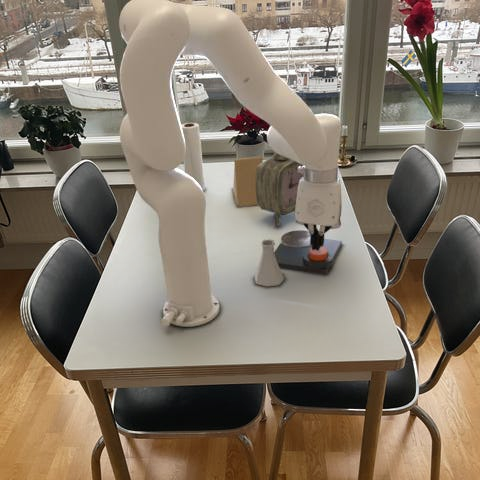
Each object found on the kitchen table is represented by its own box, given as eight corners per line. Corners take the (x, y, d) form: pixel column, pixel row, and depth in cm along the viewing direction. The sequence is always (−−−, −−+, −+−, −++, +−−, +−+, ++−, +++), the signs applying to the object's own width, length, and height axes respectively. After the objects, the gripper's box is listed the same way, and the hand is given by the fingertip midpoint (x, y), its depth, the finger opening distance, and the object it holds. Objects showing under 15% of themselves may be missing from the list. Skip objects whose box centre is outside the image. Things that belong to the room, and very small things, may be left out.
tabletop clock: (278, 231, 150) (277, 141, 136) (254, 223, 155) (250, 136, 141) (309, 213, 159) (311, 127, 144) (285, 206, 164) (284, 122, 149)
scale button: (324, 262, 129) (324, 256, 128) (307, 260, 130) (307, 253, 129) (329, 254, 132) (329, 247, 131) (312, 251, 134) (312, 245, 133)
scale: (328, 275, 129) (329, 264, 127) (267, 266, 134) (267, 256, 132) (344, 245, 141) (344, 235, 139) (287, 238, 146) (287, 228, 144)
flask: (281, 288, 125) (281, 250, 120) (251, 286, 127) (249, 248, 121) (285, 272, 131) (285, 235, 125) (256, 271, 133) (255, 234, 127)
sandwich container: (257, 186, 179) (256, 141, 170) (264, 204, 166) (263, 156, 157) (232, 188, 178) (229, 143, 169) (237, 207, 166) (234, 159, 157)
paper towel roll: (194, 185, 182) (188, 121, 170) (208, 188, 179) (202, 123, 167) (181, 192, 178) (172, 127, 165) (195, 196, 175) (187, 129, 162)
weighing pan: (311, 250, 134) (311, 248, 133) (276, 245, 137) (276, 244, 137) (321, 234, 141) (321, 232, 140) (287, 229, 144) (287, 228, 144)
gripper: (283, 176, 119) (282, 250, 129) (350, 182, 114) (343, 259, 124) (293, 165, 124) (292, 237, 135) (357, 171, 120) (350, 245, 130)
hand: (316, 247), depth 130 cm, fingers closed
